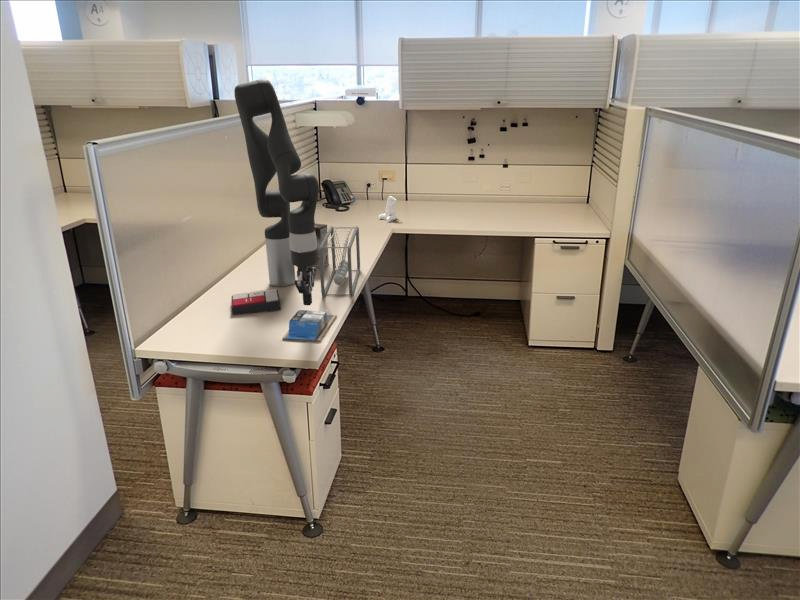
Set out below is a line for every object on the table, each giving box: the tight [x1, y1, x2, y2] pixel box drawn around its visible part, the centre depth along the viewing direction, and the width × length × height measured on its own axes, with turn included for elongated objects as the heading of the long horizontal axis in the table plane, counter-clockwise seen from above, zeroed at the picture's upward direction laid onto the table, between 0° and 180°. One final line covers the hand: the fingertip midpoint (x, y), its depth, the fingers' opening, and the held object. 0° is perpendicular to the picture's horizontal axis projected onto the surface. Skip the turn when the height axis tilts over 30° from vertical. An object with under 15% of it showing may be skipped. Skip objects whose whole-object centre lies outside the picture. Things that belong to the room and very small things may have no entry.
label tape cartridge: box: [286, 309, 328, 340], centre depth 167 cm, size 9×4×12 cm
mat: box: [282, 314, 337, 343], centre depth 170 cm, size 18×11×1 cm, turn 171°
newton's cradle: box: [319, 225, 361, 298], centre depth 203 cm, size 30×10×18 cm, turn 179°
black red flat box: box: [230, 288, 282, 316], centre depth 186 cm, size 11×4×15 cm
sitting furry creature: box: [378, 195, 399, 223], centre depth 292 cm, size 10×9×12 cm
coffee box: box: [313, 223, 330, 269], centre depth 223 cm, size 9×6×16 cm
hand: (307, 304), depth 166 cm, fingers closed
